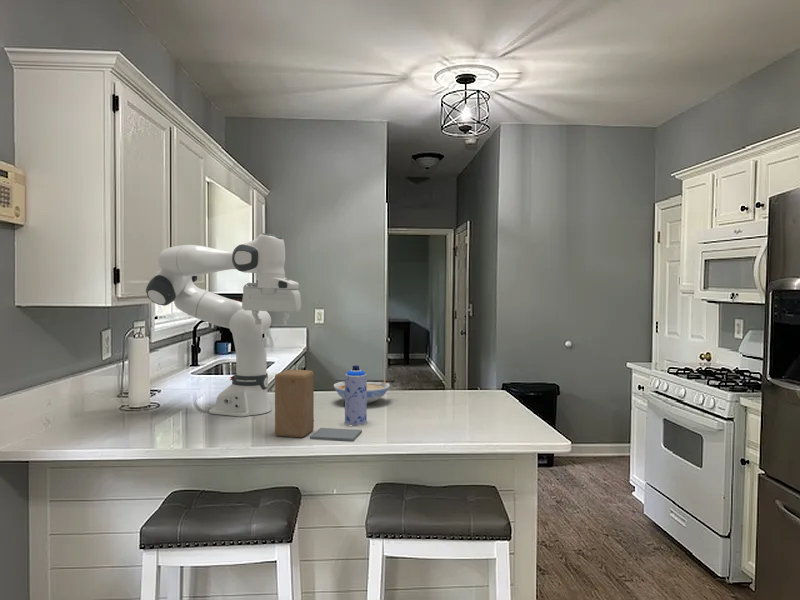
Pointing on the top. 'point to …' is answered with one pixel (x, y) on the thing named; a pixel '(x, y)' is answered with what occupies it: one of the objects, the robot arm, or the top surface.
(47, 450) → the top surface
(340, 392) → the ramen bowl
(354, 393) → the aerosol can
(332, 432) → the mat
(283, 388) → the wooden block
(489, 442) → the top surface
